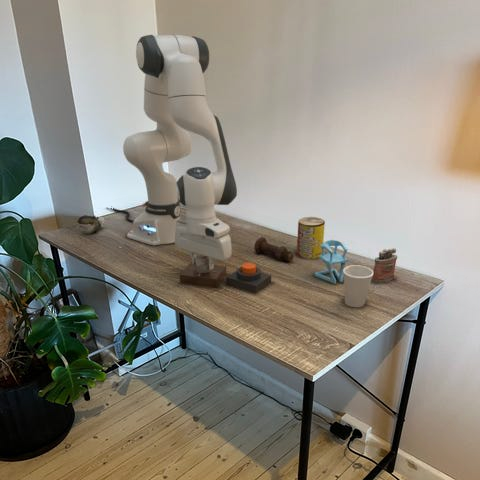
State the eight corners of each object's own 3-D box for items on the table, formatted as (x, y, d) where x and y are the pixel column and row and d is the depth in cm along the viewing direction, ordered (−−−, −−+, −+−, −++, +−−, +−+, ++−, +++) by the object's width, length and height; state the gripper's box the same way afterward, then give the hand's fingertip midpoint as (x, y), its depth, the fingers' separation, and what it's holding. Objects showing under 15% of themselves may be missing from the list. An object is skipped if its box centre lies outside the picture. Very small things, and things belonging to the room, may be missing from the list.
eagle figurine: (90, 222, 202) (74, 225, 195) (97, 209, 199) (81, 211, 191) (102, 235, 201) (86, 238, 194) (109, 222, 197) (93, 224, 190)
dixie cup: (348, 293, 149) (352, 262, 144) (374, 301, 144) (379, 270, 139) (334, 303, 143) (337, 272, 138) (360, 312, 138) (364, 280, 133)
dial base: (180, 283, 155) (179, 274, 154) (191, 270, 164) (191, 261, 162) (216, 288, 152) (216, 278, 151) (226, 274, 161) (226, 265, 159)
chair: (328, 285, 153) (331, 249, 147) (314, 275, 160) (316, 240, 154) (349, 281, 156) (353, 245, 150) (334, 271, 162) (337, 236, 156)
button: (238, 272, 152) (238, 266, 151) (246, 267, 155) (246, 261, 154) (250, 275, 150) (250, 269, 149) (258, 270, 153) (258, 264, 152)
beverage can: (295, 248, 179) (297, 216, 173) (320, 249, 179) (323, 216, 173) (297, 258, 171) (299, 225, 165) (323, 258, 171) (326, 225, 165)
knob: (198, 274, 154) (197, 260, 152) (194, 268, 158) (194, 254, 155) (211, 272, 155) (211, 258, 153) (208, 266, 159) (207, 253, 156)
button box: (226, 284, 154) (225, 271, 152) (242, 274, 161) (242, 261, 158) (255, 293, 149) (255, 280, 147) (271, 282, 155) (271, 269, 153)
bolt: (289, 268, 169) (257, 255, 178) (298, 257, 170) (265, 245, 179) (285, 257, 164) (252, 244, 173) (294, 246, 166) (260, 234, 175)
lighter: (376, 284, 154) (380, 254, 149) (369, 280, 156) (373, 250, 151) (396, 278, 157) (401, 249, 152) (389, 274, 160) (393, 245, 154)
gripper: (168, 220, 152) (172, 262, 159) (221, 234, 142) (222, 277, 149) (182, 215, 156) (185, 256, 163) (234, 227, 146) (234, 270, 153)
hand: (203, 266), depth 156 cm, fingers closed on knob, 4 cm apart
